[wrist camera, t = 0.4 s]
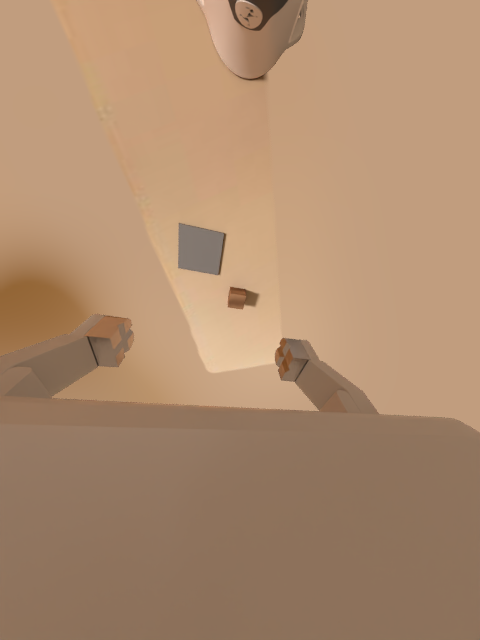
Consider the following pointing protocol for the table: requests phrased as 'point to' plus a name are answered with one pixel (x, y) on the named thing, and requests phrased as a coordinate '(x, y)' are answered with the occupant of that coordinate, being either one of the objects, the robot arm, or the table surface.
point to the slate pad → (199, 249)
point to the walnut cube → (236, 298)
